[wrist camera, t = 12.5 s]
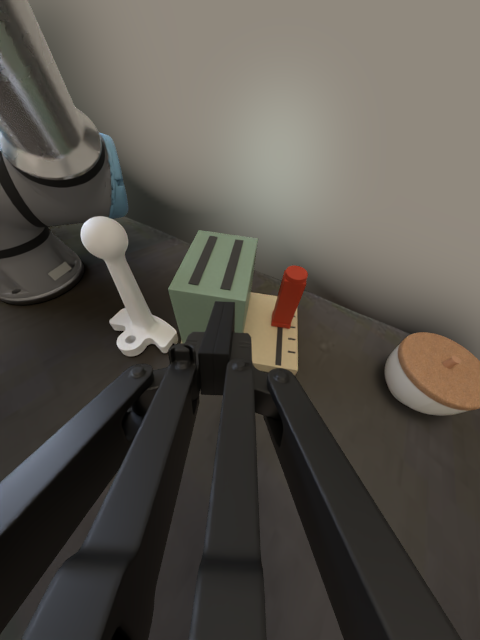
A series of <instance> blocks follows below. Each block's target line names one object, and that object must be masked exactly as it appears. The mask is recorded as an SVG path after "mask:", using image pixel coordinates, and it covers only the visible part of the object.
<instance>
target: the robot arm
mask: <svg viewBox="0 0 480 640" xmlns="http://www.w3.org/2000/svg"><path fill="white" fill-rule="evenodd" d="M127 212H128V202H127V196H126V191H125V186H124V183H123V178H122V172H121V168H120V164H119V159H118V156H117V152H116V148H115V145H114V142H113V140H112V138H111V137H110V136H108V135H104V134H102V133H99V132H98V131H97V129H96V127H95V125H94V123H93V122H92V121H91V120H90V119H89V118H88V117H87V116H86V115H85V114H84V113H83V112H81V111H80V110H78V109H77V108H75V106H74V104H73V102H72V100H71V97H70V95H69V93H68V91H67V88H66V86H65V84H64V81H63V79H62V77H61V75H60V72H59V70H58V68H57V66H56V63H55V61H54V59H53V57H52V54H51V52H50V50H49V48H48V45H47V43H46V41H45V38H44V36H43V34H42V32H41V29H40V27H39V25H38V23H37V20H36V18H35V16H34V13H33V11H32V9H31V7H30V4H29V2H28V0H0V300H1V301H3V302H6V303H9V304H14V305H28V304H35V303H40V302H44V301H47V300H50V299H53V298H55V297H57V296H60V295H62V294H63V293H65V292H67V291H68V290H70V289H71V288H72V287H74V286H75V285H76V284H77V283H78V282H79V281H80V279H81V278H82V276H83V274H84V265H83V263H82V261H81V260H80V258H79V257H78V255H77V254H76V253H75V252H74V251H72V250H71V249H70V248H69V247H68V246H67V245H65V244H64V243H63V242H62V241H61V240H60V239H58V238H57V237H56V236H55V235H54V234H53V233H52V232H51V231H50V230H49V228H48V227H50V226H57V225H66V224H75V223H85V222H86V221H87V220H89V219H90V218H93V217H97V216H103V217H108V218H111V219H114V218H120V217H123V216H125V215H126V214H127ZM168 353H169V360H170V365H169V367H167V368H163V369H158V370H153V368H152V367H151V366H150V365H148V364H137V365H134V366H131V367H129V368H128V369H127V370H125V371H124V372H123V373H122V374H121V375H120V376H119V377H117V378H116V379H115V380H114V381H113V382H112V383H111V384H110V385H109V386H107V387H106V388H105V389H104V390H103V391H102V392H101V393H100V394H99V395H97V396H96V397H95V398H94V399H93V400H92V401H91V402H90V403H88V404H87V405H86V406H85V407H84V408H83V409H82V410H81V411H80V412H78V413H77V414H76V415H75V416H74V417H73V418H72V419H71V420H69V421H68V422H67V423H66V424H65V425H64V426H63V427H62V428H61V429H59V430H58V431H57V432H56V433H55V434H54V435H53V436H52V437H50V438H49V439H48V440H47V441H46V442H45V443H44V444H43V445H42V446H40V447H39V448H38V449H37V450H36V451H35V452H34V453H33V454H32V455H30V456H29V457H28V458H27V459H26V460H25V461H24V462H23V463H21V464H20V465H19V466H18V467H17V468H16V469H15V470H14V471H13V472H11V473H10V474H9V475H8V476H7V477H6V478H5V479H4V480H2V481H1V482H0V634H1V632H2V631H3V629H4V628H5V627H6V625H7V624H8V622H9V621H10V620H11V618H12V617H13V615H14V614H15V613H16V611H17V610H18V609H19V607H20V606H21V604H22V603H23V602H24V600H25V599H26V597H27V596H28V595H29V593H30V592H31V590H32V589H33V588H34V586H35V585H36V584H37V582H38V581H39V579H40V578H41V577H42V575H43V574H44V572H45V571H46V570H47V568H48V567H49V565H50V564H51V563H52V561H53V560H54V558H55V557H56V556H57V554H58V553H59V552H60V550H61V549H62V547H63V546H64V545H65V543H66V542H67V540H68V539H69V538H70V536H71V535H72V533H73V532H74V531H75V529H76V528H77V527H78V525H79V524H80V522H81V521H82V520H83V518H84V517H85V515H86V514H87V513H88V511H89V510H90V508H91V507H92V506H93V504H94V503H95V502H96V500H97V499H98V497H99V496H100V495H101V493H102V492H103V490H104V489H105V488H106V486H107V485H108V483H109V482H110V481H111V479H112V478H113V476H114V475H115V474H116V472H117V471H118V470H119V471H118V473H117V475H116V477H115V479H114V481H113V483H112V485H111V487H110V490H109V492H108V494H107V496H106V498H105V500H104V502H103V504H102V506H101V508H100V510H99V512H98V514H97V517H96V519H95V521H94V523H93V525H92V527H91V529H90V531H89V533H88V535H87V537H86V539H85V541H84V543H83V545H82V547H81V548H80V549H79V551H78V552H77V553H76V554H74V555H73V556H71V557H70V558H68V559H67V560H66V561H65V562H64V563H63V565H62V566H61V567H60V568H59V570H58V571H57V573H56V574H55V576H54V578H53V579H52V581H51V583H50V585H49V586H48V588H47V590H46V592H45V594H44V596H43V598H42V600H41V602H40V604H39V606H38V607H37V609H36V611H35V613H34V615H33V617H32V619H31V621H30V623H29V625H28V627H27V629H26V631H25V633H24V634H23V636H22V638H21V640H148V637H149V633H150V628H151V623H152V616H153V610H154V596H155V589H156V584H157V579H158V575H159V571H160V567H161V562H162V558H163V554H164V550H165V545H166V541H167V537H168V533H169V529H170V524H171V520H172V516H173V512H174V507H175V503H176V499H177V495H178V490H179V486H180V482H181V478H182V474H183V469H184V465H185V461H186V457H187V452H188V448H189V444H190V440H191V436H192V431H193V427H194V423H195V419H196V414H197V410H198V406H199V392H200V388H201V394H204V395H223V400H222V408H221V416H220V424H219V432H218V439H217V447H216V455H215V463H214V471H213V479H212V487H211V495H210V502H209V510H208V518H207V526H206V534H205V542H204V549H203V555H202V560H201V563H200V566H199V571H198V576H197V583H196V590H195V597H194V605H193V612H192V619H191V627H190V634H189V640H266V617H265V595H264V578H263V568H262V563H261V553H260V529H259V503H258V477H257V451H256V425H255V412H256V413H258V414H261V415H264V420H265V422H266V425H267V428H268V431H269V434H270V436H271V439H272V442H273V445H274V447H275V450H276V453H277V456H278V458H279V461H280V464H281V467H282V469H283V472H284V475H285V478H286V480H287V483H288V486H289V489H290V492H291V494H292V497H293V500H294V503H295V505H296V508H297V511H298V514H299V516H300V519H301V522H302V525H303V527H304V530H305V533H306V536H307V538H308V541H309V544H310V547H311V549H312V552H313V555H314V558H315V561H316V563H317V566H318V569H319V572H320V574H321V577H322V580H323V583H324V585H325V588H326V591H327V594H328V596H329V599H330V602H331V605H332V607H333V610H334V613H335V616H336V618H337V621H338V624H339V627H340V630H341V632H342V635H343V638H344V640H462V639H461V638H460V636H459V635H458V633H457V632H456V630H455V628H454V627H453V625H452V624H451V622H450V620H449V619H448V617H447V616H446V614H445V613H444V611H443V609H442V608H441V606H440V605H439V603H438V601H437V600H436V598H435V597H434V595H433V594H432V592H431V590H430V589H429V587H428V586H427V584H426V583H425V581H424V579H423V578H422V576H421V575H420V573H419V571H418V570H417V568H416V567H415V565H414V564H413V562H412V560H411V559H410V557H409V556H408V554H407V552H406V551H405V549H404V548H403V546H402V545H401V543H400V541H399V540H398V538H397V537H396V535H395V533H394V532H393V530H392V529H391V527H390V526H389V524H388V522H387V521H386V519H385V518H384V516H383V515H382V513H381V511H380V510H379V508H378V507H377V505H376V503H375V502H374V500H373V499H372V497H371V496H370V494H369V492H368V491H367V489H366V488H365V486H364V484H363V483H362V481H361V480H360V478H359V477H358V475H357V473H356V472H355V470H354V469H353V467H352V465H351V464H350V462H349V461H348V459H347V458H346V456H345V454H344V453H343V451H342V450H341V448H340V446H339V445H338V443H337V442H336V440H335V439H334V437H333V435H332V434H331V432H330V431H329V429H328V428H327V426H326V424H325V423H324V421H323V420H322V418H321V416H320V415H319V413H318V412H317V410H316V409H315V407H314V405H313V404H312V402H311V401H310V399H309V397H308V396H307V394H306V393H305V391H304V390H303V388H302V386H301V385H300V383H299V382H298V380H297V378H296V377H295V375H294V374H293V373H292V372H290V371H289V370H287V369H283V368H275V369H272V370H271V371H269V373H265V372H262V371H260V370H258V369H256V368H255V367H254V365H253V363H252V343H251V336H250V335H249V334H248V333H235V302H221V301H215V303H214V306H213V309H212V312H211V315H210V318H209V321H208V324H207V327H206V330H205V332H192V333H191V334H189V335H188V337H187V339H186V341H185V343H180V344H176V345H174V346H172V347H170V348H169V350H168ZM119 468H120V469H119Z"/></svg>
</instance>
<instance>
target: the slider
mask: <svg viewBox="0 0 480 640" xmlns="http://www.w3.org/2000/svg"><path fill="white" fill-rule="evenodd" d="M307 276H308V273H307V271H306V270H305V269H304V268H302V267H299V266H290V267H288V268H287V269H286V270H285V271H284V275H283V279H282V282H281V286H280V289H279V293H278V297H277V300H276V304H275V308H274V310H273V312H272V320H271V326H275V327H281V328H287V329H290V327H291V322H292V319H293V317H294V314H295V312H296V309H297V306H298V304H299V301H300V299H301V296H302V294H303V291H304V289H305V286H306V279H307Z"/></svg>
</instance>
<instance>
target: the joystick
mask: <svg viewBox="0 0 480 640" xmlns="http://www.w3.org/2000/svg"><path fill="white" fill-rule="evenodd" d="M81 240H82V243H83V245H84V246H85V248H86V249H87V250H88V251H89V252H90V253H91V254H93V255H94V256H96V257H98V258H101V259H103V260H104V261H105V263H106V265H107V267H108V269H109V272H110V274H111V276H112V278H113V281H114V283H115V285H116V287H117V290H118V292H119V294H120V296H121V299H122V301H123V303H124V305H125V308H124V309H121V310H120V311H119V312H118V313H117V314H116V315H115V316H114V317H113V318H112V319H110V321H109V323H110V324H111V326H112V327H113V329H114V330H116V331H124V332H123V333H122V334H121V335H120V336H119V337H118V339H117V346H118V348H119V349H120V350H121V352H122V353H123V354H124V355H126V356H136V355H138V354H140V353H142V352H143V351H144V350H145V348H146V347H147V346H148V345H150V344H155V345H156V346H157V347H158V348H159V349H160V350H161V352H162V353H167V352H168V350H169V348H170V347H171V345H172V344H173V343H174V344H176V343H177V342H178V336H177V332H176V330H175V329H174V328H173V327H172V326H171V325H169V324H168V323H167V322H165V321H164V320H162V319H160V318H158V317H156V316H154V315H152V314H151V312H150V310H149V307H148V305H147V303H146V301H145V299H144V297H143V295H142V293H141V291H140V288H139V286H138V284H137V282H136V280H135V278H134V276H133V274H132V271H131V269H130V267H129V265H128V263H127V261H126V259H125V251H126V250H127V247H128V237H127V234H126V232H125V230H124V228H123V227H122V226H121V225H120V224H119V223H118V222H116V221H115V220H113V219H111V218H108V217H103V216H97V217H93V218H90V219H89V220H87V221H86V222H85V223H84V224H83V226H82V228H81Z"/></svg>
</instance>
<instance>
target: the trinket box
mask: <svg viewBox="0 0 480 640" xmlns="http://www.w3.org/2000/svg"><path fill="white" fill-rule="evenodd" d="M384 370H385V380H386V382H387V385H388V388H389V390H390V392H391V393H392V395H393V396H394V397H395V398H396V399H397V400H398V401H400V402H401V403H403V404H404V405H406V406H408V407H410V408H412V409H413V410H416V411H418V412H421V413H425V414H429V415H438V416H441V415H453V414H459V413H462V412H465V411H469V410H475V409H478V408H480V361H479V360H478V359H477V358H476V357H475V356H474V355H473V354H471V353H470V352H469V351H468V350H467V349H465V348H464V347H462V346H461V345H459V344H458V343H456V342H454V341H452V340H450V339H448V338H445V337H443V336H440V335H437V334H433V333H425V332H424V333H423V332H422V333H415V334H411V335H409V336H408V337H406V338H405V339H404V340H403V341H402V342H401V343H400V344H399V345H398V346H397V347H396V348H395V349H394V350H393V352H392V353H391V354H390V355H389V357H388V359H387V361H386V364H385V369H384Z"/></svg>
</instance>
